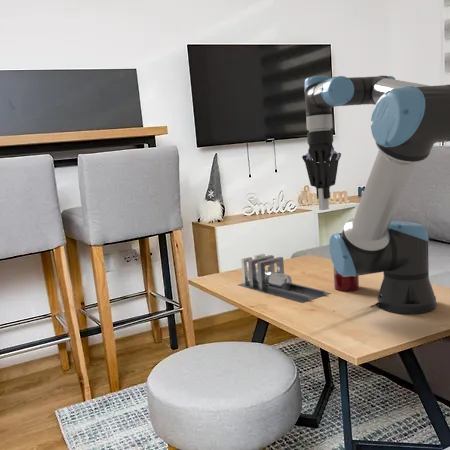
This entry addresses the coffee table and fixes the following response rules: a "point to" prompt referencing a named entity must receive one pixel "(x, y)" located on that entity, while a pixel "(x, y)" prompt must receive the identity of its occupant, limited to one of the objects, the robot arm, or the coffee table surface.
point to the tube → (276, 279)
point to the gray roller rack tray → (293, 293)
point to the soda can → (345, 282)
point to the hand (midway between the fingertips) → (324, 209)
